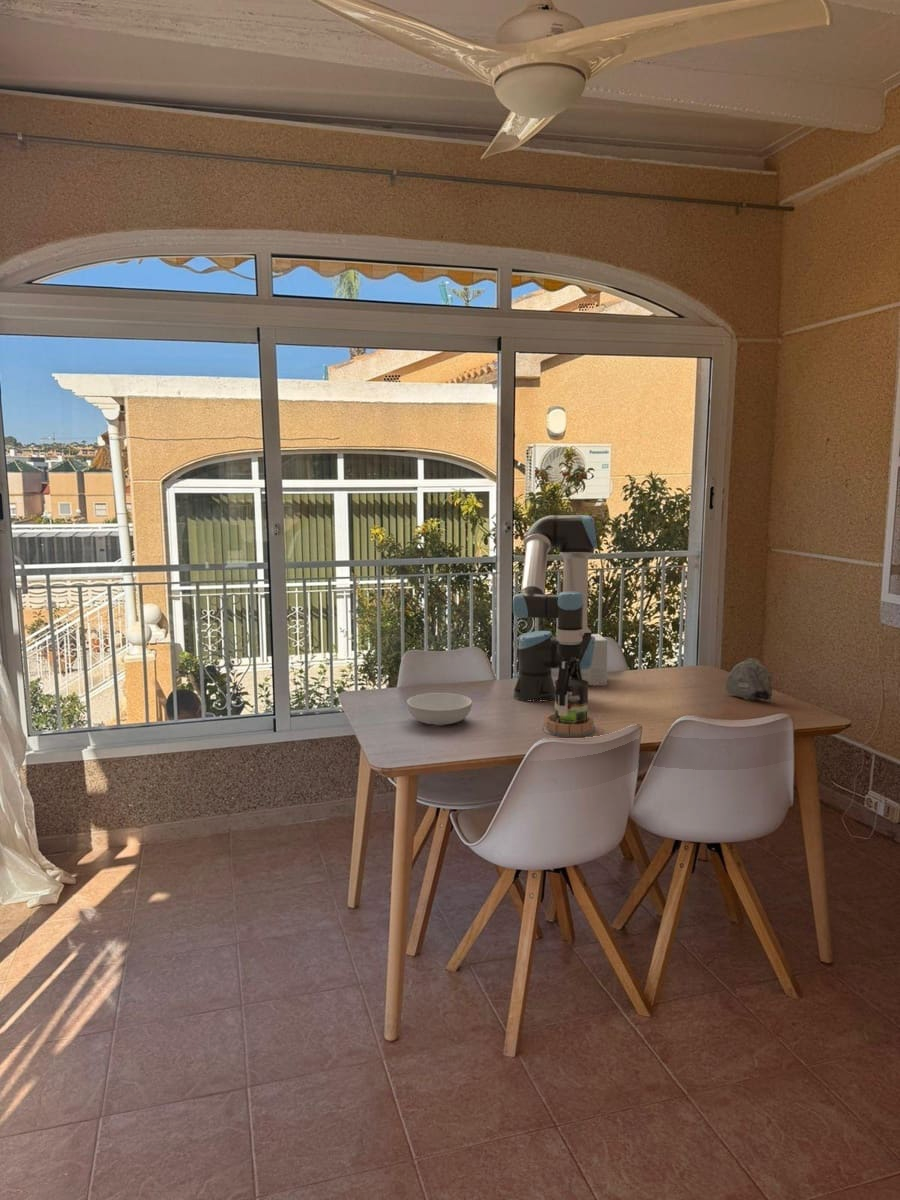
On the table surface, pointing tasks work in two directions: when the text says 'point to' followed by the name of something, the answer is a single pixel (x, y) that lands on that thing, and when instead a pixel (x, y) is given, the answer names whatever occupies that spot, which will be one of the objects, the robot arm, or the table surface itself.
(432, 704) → the serving bowl
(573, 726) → the collar
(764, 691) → the decorative rock
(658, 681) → the table surface
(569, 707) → the coffee can
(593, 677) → the supplement box
